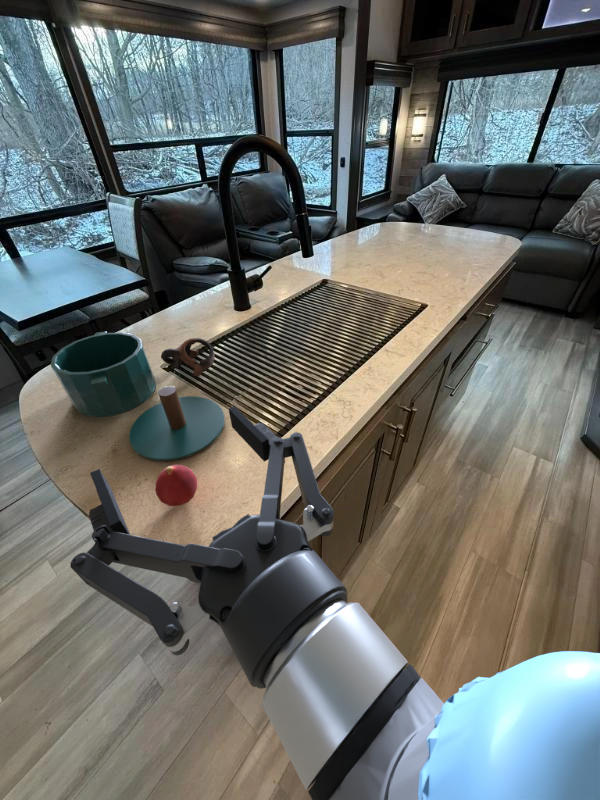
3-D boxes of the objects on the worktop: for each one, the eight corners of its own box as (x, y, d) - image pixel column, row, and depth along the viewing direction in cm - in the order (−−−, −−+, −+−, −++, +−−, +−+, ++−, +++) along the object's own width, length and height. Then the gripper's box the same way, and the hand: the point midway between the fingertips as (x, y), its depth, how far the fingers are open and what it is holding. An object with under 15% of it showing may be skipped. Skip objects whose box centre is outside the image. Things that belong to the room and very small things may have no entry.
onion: (172, 483, 54) (158, 449, 49) (206, 486, 54) (196, 452, 49) (156, 515, 50) (139, 481, 45) (194, 518, 49) (181, 484, 44)
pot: (70, 435, 63) (43, 391, 57) (78, 376, 79) (57, 336, 73) (161, 411, 69) (145, 368, 62) (151, 360, 84) (138, 322, 78)
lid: (133, 476, 55) (113, 437, 50) (129, 414, 68) (112, 377, 62) (235, 444, 61) (228, 405, 55) (214, 391, 73) (206, 356, 68)
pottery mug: (207, 353, 87) (213, 333, 81) (214, 384, 84) (220, 366, 77) (158, 354, 82) (160, 332, 75) (163, 387, 78) (165, 367, 71)
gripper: (114, 858, 16) (49, 539, 29) (421, 548, 28) (277, 420, 41) (35, 876, 12) (-1, 487, 25) (443, 495, 24) (273, 369, 37)
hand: (173, 445), depth 33 cm, fingers open, 13 cm apart
